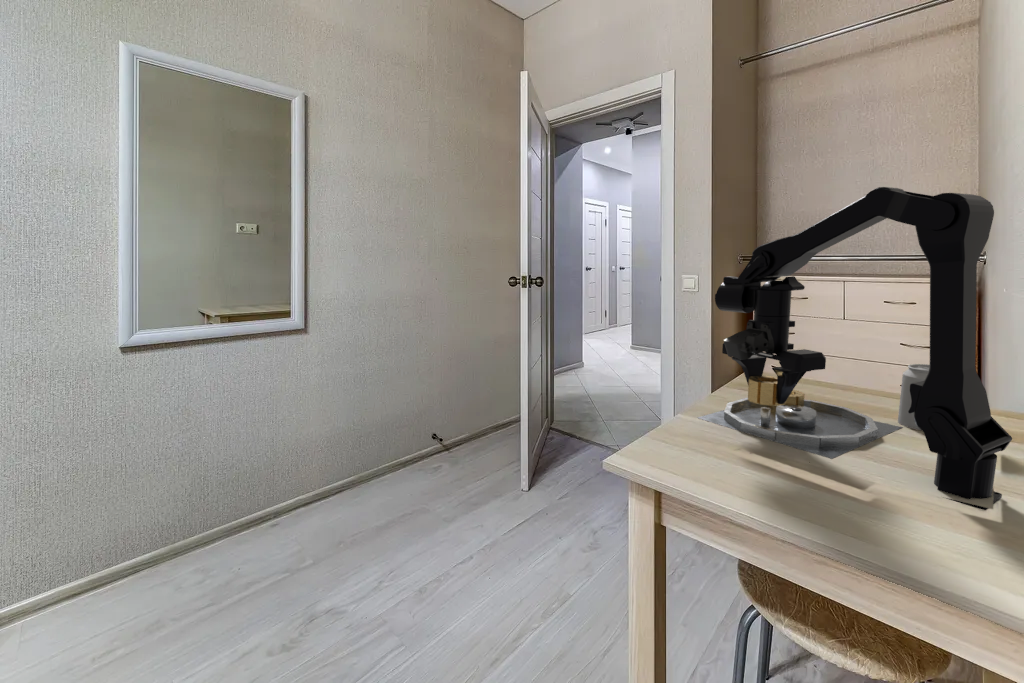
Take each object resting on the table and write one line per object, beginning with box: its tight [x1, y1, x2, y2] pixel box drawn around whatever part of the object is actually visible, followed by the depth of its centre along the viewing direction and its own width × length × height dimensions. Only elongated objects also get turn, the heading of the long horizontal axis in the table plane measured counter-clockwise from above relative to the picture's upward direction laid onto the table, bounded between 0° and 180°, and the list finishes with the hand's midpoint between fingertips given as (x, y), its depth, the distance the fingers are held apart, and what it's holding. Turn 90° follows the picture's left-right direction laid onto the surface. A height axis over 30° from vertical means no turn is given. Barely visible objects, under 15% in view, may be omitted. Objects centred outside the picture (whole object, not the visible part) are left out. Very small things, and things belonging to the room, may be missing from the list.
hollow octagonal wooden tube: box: [747, 375, 786, 406], centre depth 89 cm, size 6×6×4 cm
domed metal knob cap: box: [775, 405, 816, 428], centre depth 92 cm, size 7×7×3 cm
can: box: [897, 363, 930, 431], centre depth 88 cm, size 8×8×12 cm
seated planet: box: [767, 389, 806, 414], centre depth 99 cm, size 6×6×4 cm
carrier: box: [696, 397, 904, 460], centre depth 92 cm, size 25×25×4 cm
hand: (766, 399), depth 89 cm, fingers closed on hollow octagonal wooden tube, 6 cm apart
